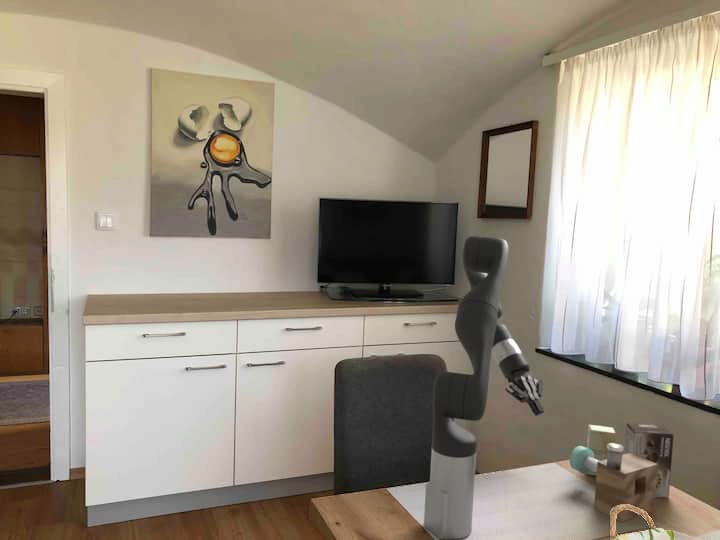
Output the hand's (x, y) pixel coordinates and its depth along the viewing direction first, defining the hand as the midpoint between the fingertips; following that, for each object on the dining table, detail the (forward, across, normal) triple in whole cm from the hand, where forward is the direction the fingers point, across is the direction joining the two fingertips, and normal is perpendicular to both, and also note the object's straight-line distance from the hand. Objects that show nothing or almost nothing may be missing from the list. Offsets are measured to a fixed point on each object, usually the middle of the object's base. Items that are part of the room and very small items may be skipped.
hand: (540, 414), depth 156 cm
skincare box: (+18, +11, +2) cm, 21 cm away
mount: (+28, 0, -9) cm, 30 cm away
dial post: (+21, -5, -16) cm, 27 cm away
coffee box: (+26, +13, -6) cm, 30 cm away
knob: (+21, 0, -7) cm, 22 cm away
